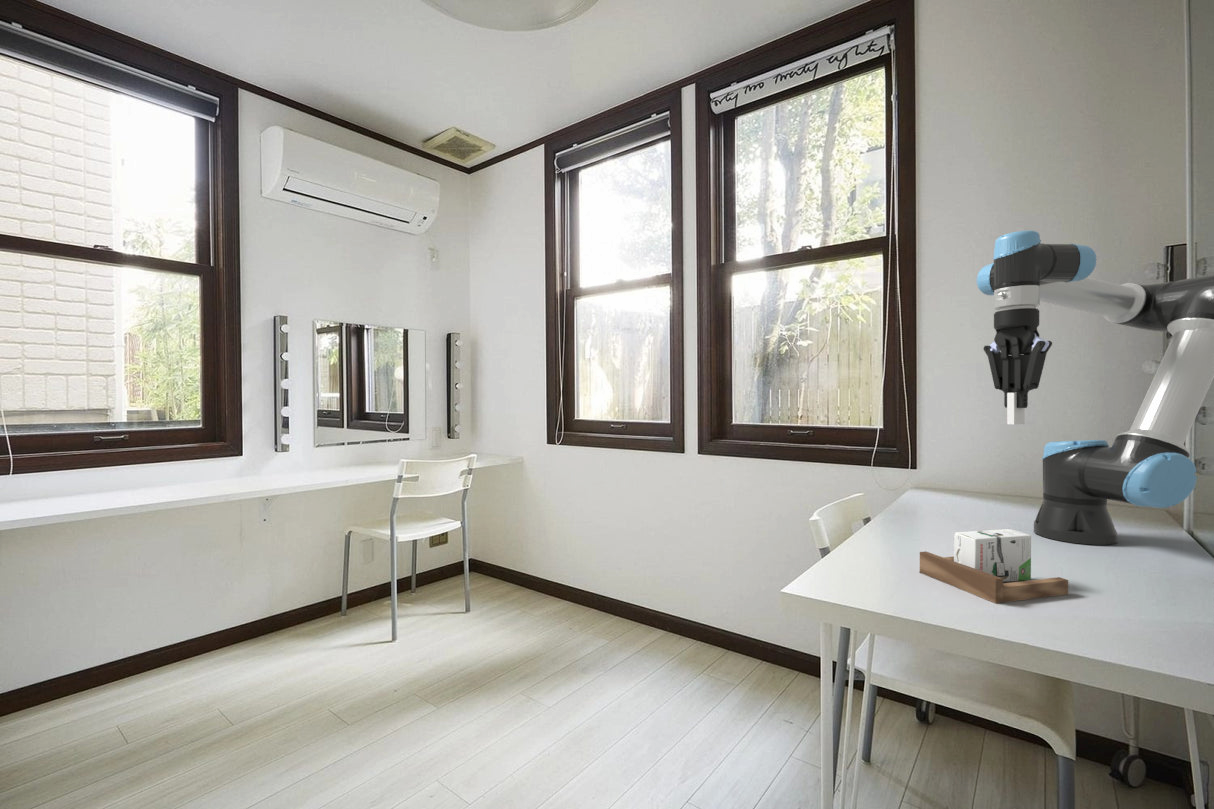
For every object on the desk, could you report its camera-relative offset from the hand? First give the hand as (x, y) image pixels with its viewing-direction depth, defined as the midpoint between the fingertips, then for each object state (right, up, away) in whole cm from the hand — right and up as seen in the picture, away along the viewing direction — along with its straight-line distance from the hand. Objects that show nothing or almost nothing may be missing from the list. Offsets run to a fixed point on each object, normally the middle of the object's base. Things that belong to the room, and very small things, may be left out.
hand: (1015, 423), depth 113 cm
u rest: (-14, -29, -13) cm, 35 cm away
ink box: (-7, -24, -11) cm, 27 cm away
